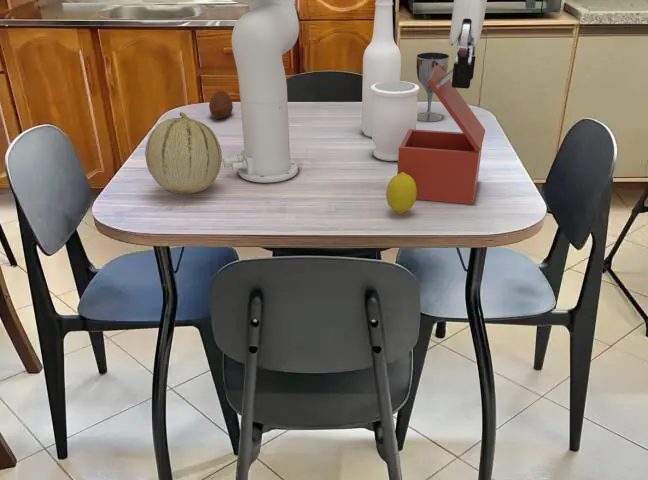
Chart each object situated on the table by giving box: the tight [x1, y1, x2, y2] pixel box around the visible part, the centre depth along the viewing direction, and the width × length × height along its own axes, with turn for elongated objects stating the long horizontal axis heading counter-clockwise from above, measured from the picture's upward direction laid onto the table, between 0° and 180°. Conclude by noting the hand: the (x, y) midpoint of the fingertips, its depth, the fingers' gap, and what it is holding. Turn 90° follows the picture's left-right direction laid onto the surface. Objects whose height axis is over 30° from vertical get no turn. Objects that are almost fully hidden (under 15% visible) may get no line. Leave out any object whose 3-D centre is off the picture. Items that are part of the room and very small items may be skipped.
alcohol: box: [361, 0, 402, 138], centre depth 158 cm, size 9×9×30 cm
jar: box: [370, 80, 420, 162], centre depth 148 cm, size 11×10×15 cm
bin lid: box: [427, 64, 486, 152], centre depth 124 cm, size 16×12×6 cm
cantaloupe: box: [144, 111, 223, 195], centre depth 133 cm, size 15×15×15 cm
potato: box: [208, 90, 234, 119], centre depth 178 cm, size 6×12×6 cm, turn 179°
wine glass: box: [415, 52, 450, 122], centre depth 172 cm, size 8×8×15 cm
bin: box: [396, 128, 483, 205], centre depth 133 cm, size 15×12×10 cm
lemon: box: [385, 172, 417, 215], centre depth 124 cm, size 6×6×8 cm
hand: (462, 82), depth 123 cm, fingers closed on bin lid, 5 cm apart
